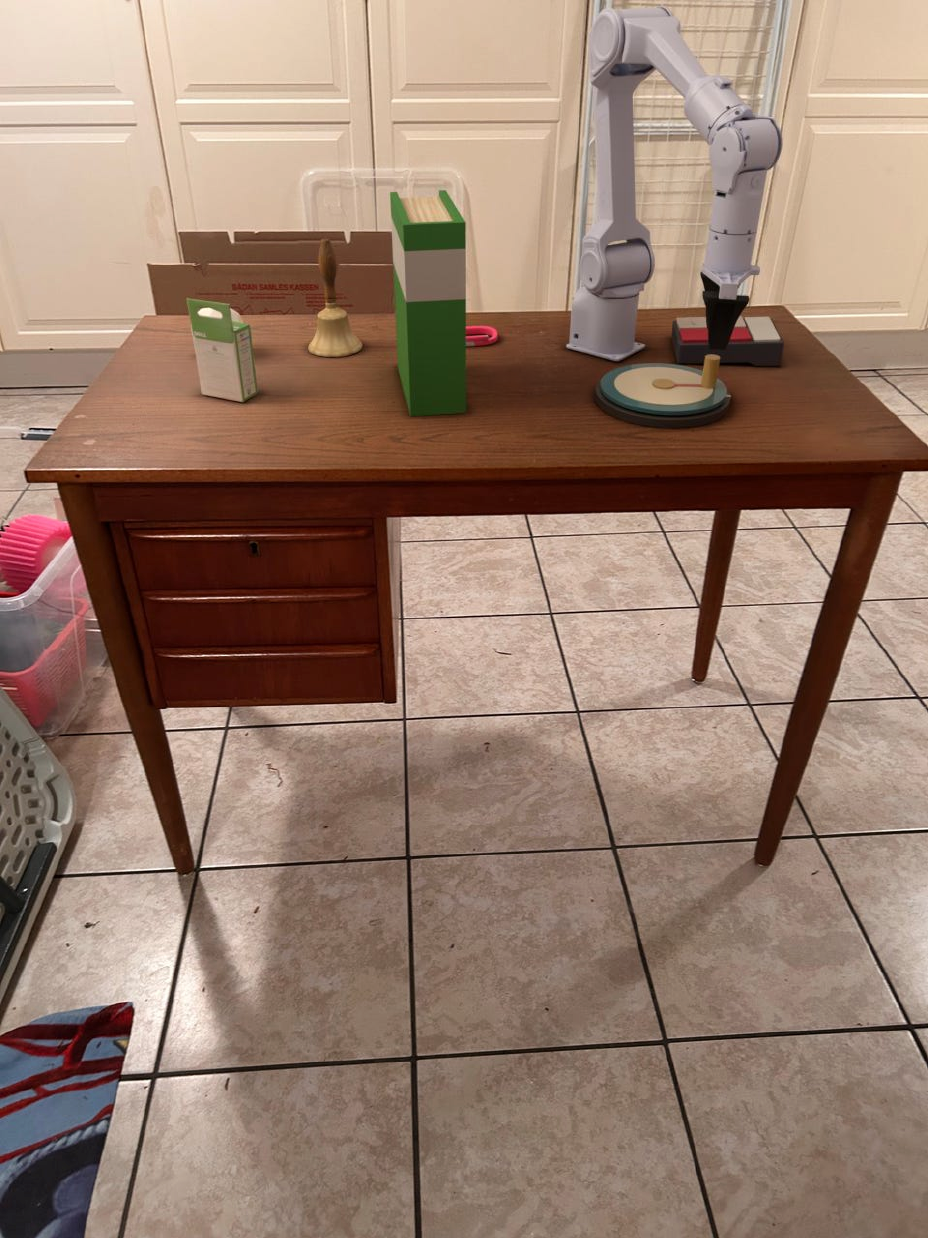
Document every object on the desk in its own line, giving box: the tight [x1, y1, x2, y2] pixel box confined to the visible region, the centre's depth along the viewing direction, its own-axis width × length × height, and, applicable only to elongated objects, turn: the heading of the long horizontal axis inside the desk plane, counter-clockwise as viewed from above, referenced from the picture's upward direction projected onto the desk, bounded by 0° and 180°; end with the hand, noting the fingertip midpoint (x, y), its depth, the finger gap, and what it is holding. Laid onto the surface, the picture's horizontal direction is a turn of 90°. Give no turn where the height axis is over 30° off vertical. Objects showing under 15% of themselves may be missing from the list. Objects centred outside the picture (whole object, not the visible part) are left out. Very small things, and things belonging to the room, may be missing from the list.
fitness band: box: [466, 325, 499, 348], centre depth 149 cm, size 8×6×2 cm
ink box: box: [186, 297, 259, 403], centre depth 128 cm, size 7×4×13 cm, turn 65°
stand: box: [594, 380, 732, 429], centre depth 130 cm, size 18×18×1 cm
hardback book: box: [389, 189, 467, 417], centre depth 127 cm, size 18×7×24 cm, turn 9°
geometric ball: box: [198, 307, 244, 323], centre depth 142 cm, size 8×8×8 cm
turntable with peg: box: [600, 354, 728, 415], centre depth 128 cm, size 17×17×5 cm
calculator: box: [670, 315, 785, 367], centre depth 144 cm, size 11×4×15 cm
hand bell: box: [307, 238, 364, 358], centre depth 142 cm, size 8×8×16 cm
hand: (715, 338), depth 125 cm, fingers open, 7 cm apart
